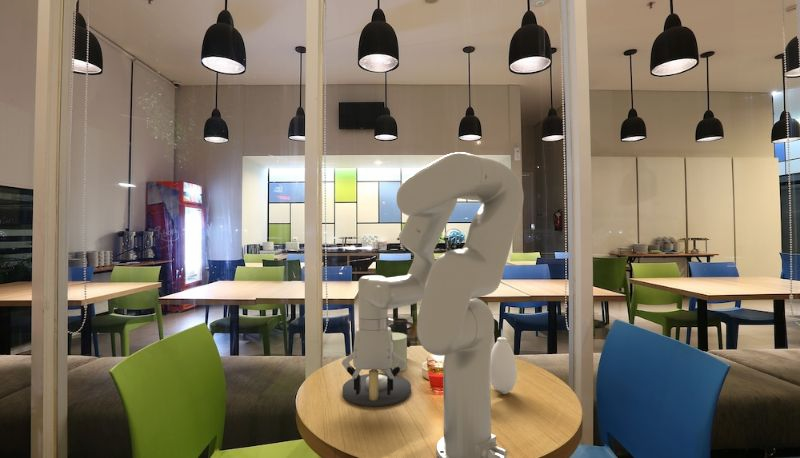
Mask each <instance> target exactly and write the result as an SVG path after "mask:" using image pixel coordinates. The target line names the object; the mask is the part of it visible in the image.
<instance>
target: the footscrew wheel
mask: <svg viewBox="0 0 800 458" xmlns="http://www.w3.org/2000/svg"><path fill="white" fill-rule="evenodd" d="M360 376H361V390H360V393H359V394H358V395H356V390H354V379H353V378H352V377H351V378H350V379H347V381H346V382H345V383H344V384H343V385H342V397H343V399H344V400H345V401H346V402H348V403H350V404H353V405H355V406H359V407H366V408H383V407H389V406H394V405H398V404H399V403H402V402H404V401H406V400H407V399H408V398H409V397H410V396H411V393H412V383H411V382H410V381H409V379H407V378H405V377H403V376H401V375H398V374H397V375H396V376H395V377H394V378H393V390H391V392H390V395H387V378H388V375H387V373H386V372H383V373H382V372H381V373H380V372H379V370H368V373H366V374H361V375H360Z"/></svg>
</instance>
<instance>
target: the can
mask: <svg viewBox="0 0 800 458" xmlns="http://www.w3.org/2000/svg"><path fill="white" fill-rule="evenodd" d="M392 339H393V352H395V353H396V354H397V355H398V356H400V357H401V358H402V359H403V360H405V365H404V366H403V367H402V369H401V370H400V371H399V373H400V372H404V371H405V370H407V369H408V350H407V349H408V347H407V335H406V334H403V333H393V332H392ZM397 365H398V362H396V361H395V360H394V359H393V363H392V369H394V368H395V367H396V366H397ZM382 371H383V372H386V371H385V370H382Z"/></svg>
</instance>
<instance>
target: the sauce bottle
mask: <svg viewBox="0 0 800 458" xmlns="http://www.w3.org/2000/svg"><path fill="white" fill-rule="evenodd" d="M500 330H501V331H500V336H499V337H497V339H496V342H495V343H494V345H493V346H492V348H491V379H490V385H491V386H492V388H493V390H495V391H497V392H500V394H501V395H506V394H508V393H510V392H511V391H512V390H513V389H514V387H515V385H516V382H517V378H518V366H517V365H518V364H517V360H516V356H515V354H514V351H513V349H512V347H511V345H510V344H509V343H508V339H507V338H506V337H504V333H503V329H500Z"/></svg>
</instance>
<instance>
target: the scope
mask: <svg viewBox="0 0 800 458" xmlns="http://www.w3.org/2000/svg"><path fill="white" fill-rule="evenodd" d="M392 319H393V318H392ZM408 323H409V322H408V319H407V318H403V317H402V318H400V317H399V318H397V317H396V318H394V319H393V324H392V333H403V334H406V335H407V348H410V347H411V346H412V342H411V340H409V337H408V335H409V333H408V332H409V331H408Z"/></svg>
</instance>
